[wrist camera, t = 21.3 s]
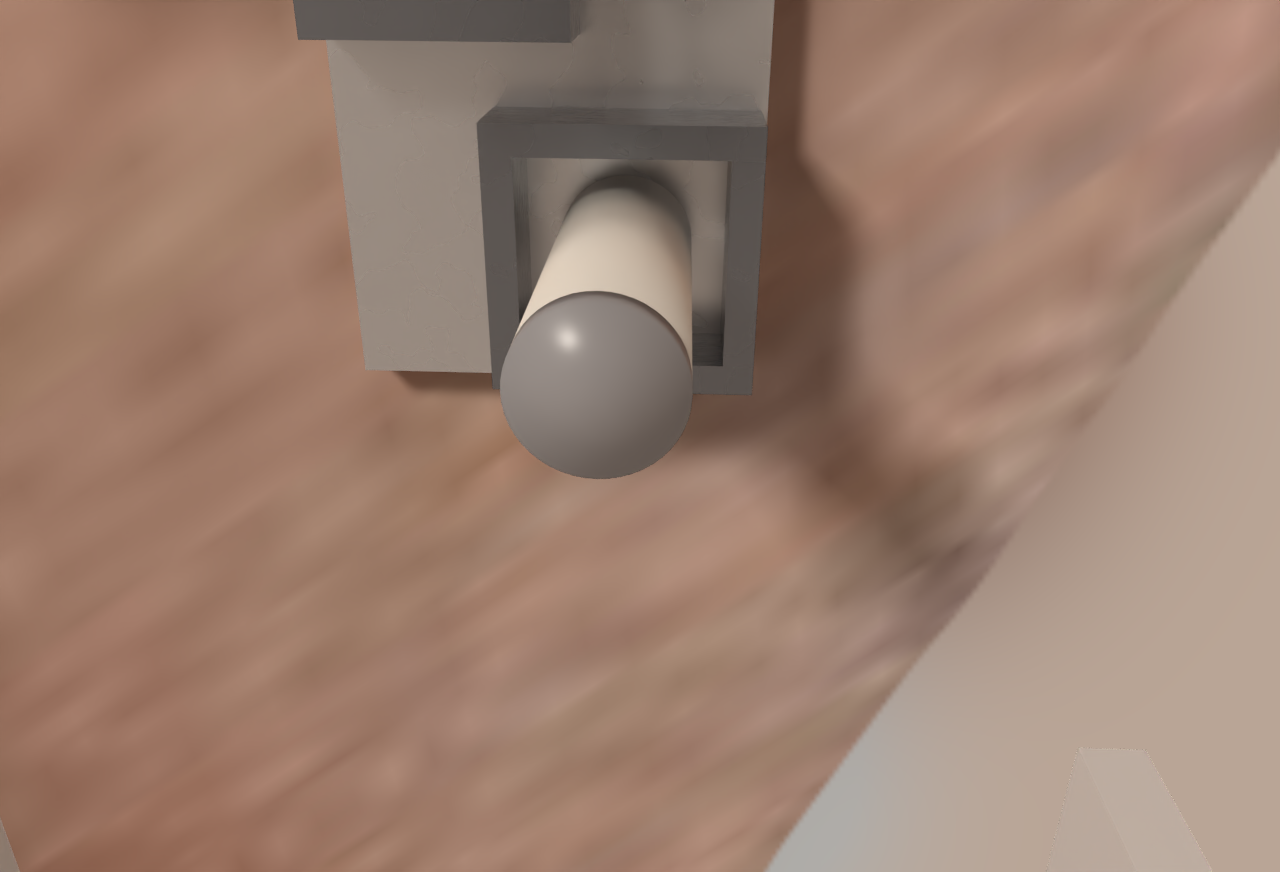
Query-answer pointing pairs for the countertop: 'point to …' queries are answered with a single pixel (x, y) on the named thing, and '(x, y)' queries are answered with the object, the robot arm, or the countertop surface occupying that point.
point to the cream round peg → (607, 335)
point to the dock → (540, 159)
